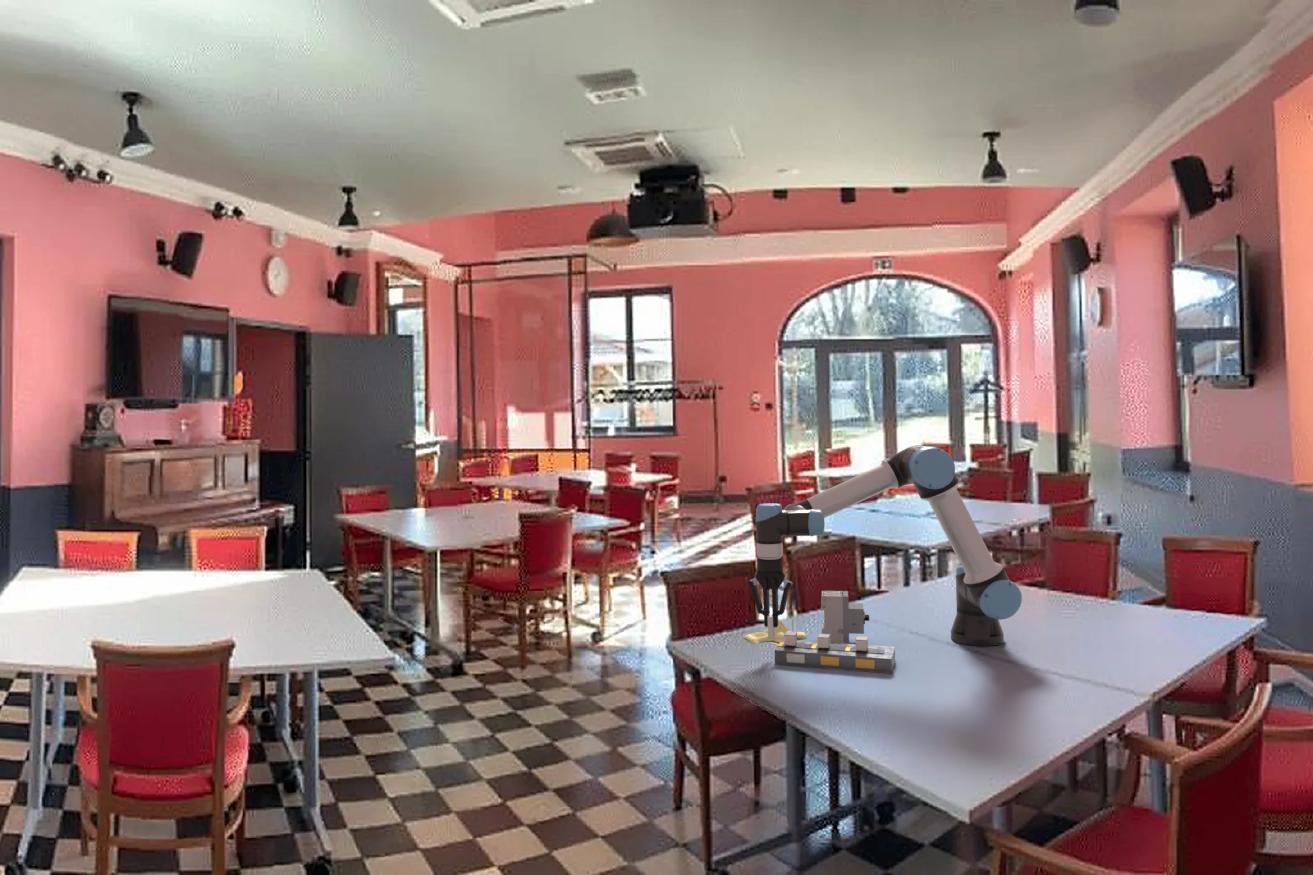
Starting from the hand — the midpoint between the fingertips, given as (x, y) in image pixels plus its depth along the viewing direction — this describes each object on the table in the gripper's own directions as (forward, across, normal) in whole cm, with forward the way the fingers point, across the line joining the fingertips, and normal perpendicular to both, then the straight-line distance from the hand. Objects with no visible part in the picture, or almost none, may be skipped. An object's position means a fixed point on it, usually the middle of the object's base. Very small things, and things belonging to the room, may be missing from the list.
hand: (771, 637), depth 245 cm
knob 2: (+1, -15, 0) cm, 15 cm away
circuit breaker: (+6, -18, -22) cm, 29 cm away
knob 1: (+1, -6, 0) cm, 6 cm away
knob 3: (+1, -26, 0) cm, 26 cm away
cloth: (+7, +2, -21) cm, 22 cm away
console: (+6, -18, 0) cm, 19 cm away
